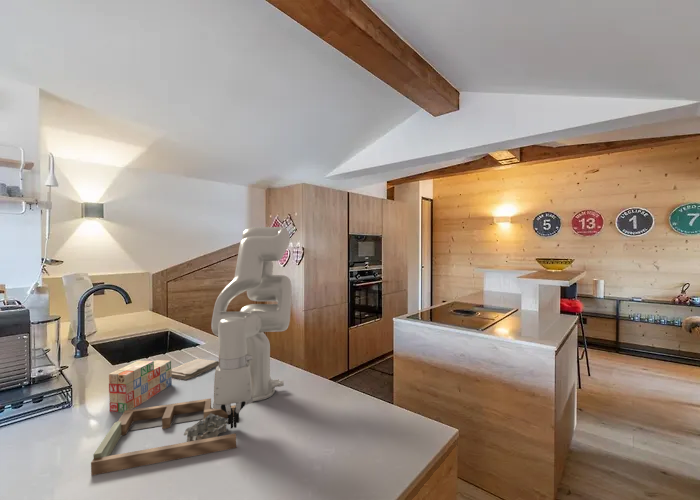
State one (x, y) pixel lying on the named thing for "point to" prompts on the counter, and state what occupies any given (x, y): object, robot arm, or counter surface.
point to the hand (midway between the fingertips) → (233, 425)
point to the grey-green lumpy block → (206, 428)
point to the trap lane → (162, 418)
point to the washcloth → (193, 368)
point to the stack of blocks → (138, 383)
